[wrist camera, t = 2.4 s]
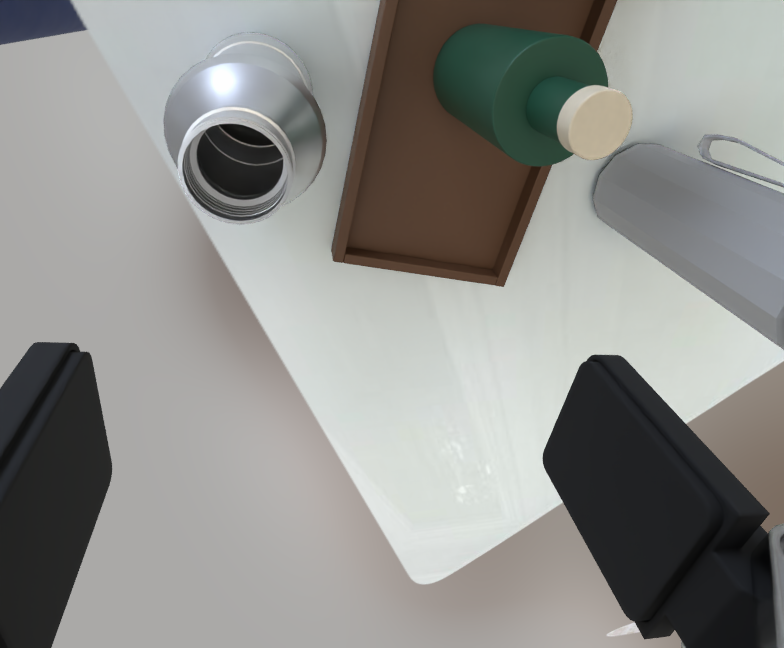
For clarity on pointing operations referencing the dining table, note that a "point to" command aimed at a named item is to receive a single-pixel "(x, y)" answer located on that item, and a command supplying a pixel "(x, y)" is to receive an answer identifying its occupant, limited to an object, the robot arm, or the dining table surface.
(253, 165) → the silver metal bottle
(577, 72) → the green bottle
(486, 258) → the tray
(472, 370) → the dining table surface
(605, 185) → the water bottle
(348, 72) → the dining table surface
